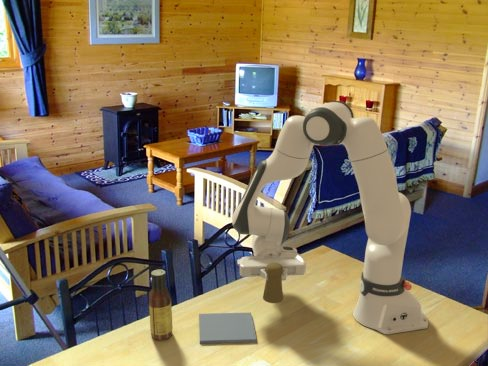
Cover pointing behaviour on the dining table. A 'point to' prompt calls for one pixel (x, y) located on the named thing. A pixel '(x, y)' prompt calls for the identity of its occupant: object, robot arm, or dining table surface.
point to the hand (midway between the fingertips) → (275, 278)
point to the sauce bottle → (160, 307)
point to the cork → (273, 283)
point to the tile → (226, 328)
